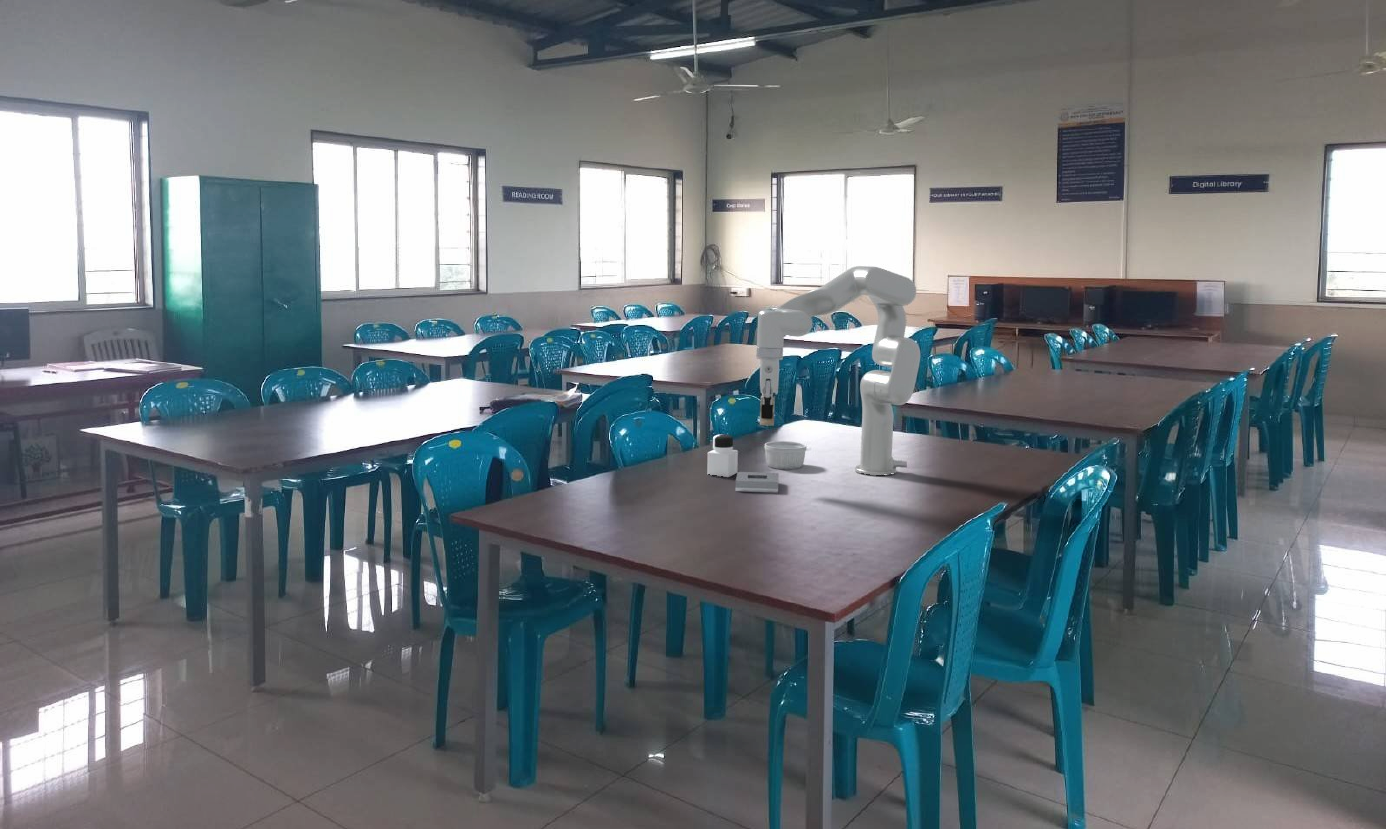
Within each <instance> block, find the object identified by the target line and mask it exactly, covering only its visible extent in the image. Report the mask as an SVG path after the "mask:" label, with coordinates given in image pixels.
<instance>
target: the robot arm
mask: <svg viewBox="0 0 1386 829" xmlns="http://www.w3.org/2000/svg"><path fill="white" fill-rule="evenodd" d="M916 295H917V287H916V285H915V283H914V281H913V280H912V279H910V278H909V277H907V276H903V275H902V274H898V273H896V272H893V271H890V270H887V269H884V268H881V267H877V266H869V265H868V266H866V265H865V266H863V265H857V266H853V267H851V268H848V269H847V270H845V271H844V272H842V273H841V274H839V275H837V276H836V277H834V278H833V279H832V280H829V281H828V282H827V283H824V284H823V285H821V286H820V287H817V288H814V289H812V290H809V291H808V292H807V291H806V292H805V293H802V294H800V295H797V296H795V297H793V298H791V299H789V300H787V301H785V302H784V303H783V304H781V305H779V306H778V307H776V308H775V309H774V310H773V309H764V310H763V309H762V310H760V311H759V312H758V314H757V331H756V332H757V333H756V337H757V338H756V357H755V358H756V359H757V360H759V361H760V362H759V364H760V366H759V390H760V393H761V394H762V396H763V404H762V411H761V418H762V419H772V417H773V405H772V397H773V395H774V394H775V395H778V393H779V380H780V379H779V376H780V361H782V360H783V358H784V357H783V356H784V343H785V342H784V336H790V337H804V336H806V335H807V334H809V332H811V330H812V328H813V319H812V317H817V316H818V317H819V316H826V315H829V314H833V313H836V312H838V311H839V310H842V308H844V307H845V306H847V305H848V304H850V303H852V302H853V301H855V300H856V299H858V298H859V297H862V296H868V297H869V299H870V301H871V302H872V303H873V305H874V307H875V310H876V312H877V316H878V318H877V319H878V320H877V327H876V330H875V336H874V341H873V345H872V349H871V359H872V360H873V362H874V363H875V364H876V365H879V366H882V367H887V368H891V370H890V371H887V370H882V369H873V370H870V371H868V372H866V373H865V374H863V376H862V378H861V380H860V385H859V386H860V387H859V390H860V397H861V398H860V399H861V407H862V409H861V410H862V412H861V413H862V414H861V416H862V418H861V420H862V421H861V436H860V438H861V441H860V461H859V462H860V464H858V465H856V466H855V467H854V470H855V472H856V473H858V474H861V473H864V474H863V475H866V474H870V475H869V476H876V475H884V474H891V473H895V474H897V468H907V467H908V461H906V460H905V461H904V460H895V459H894V457H893V437H894V434H893V433H894V420H895V418H894V417H895V416H894V411H893V410H894V409H893V406H892V405H895V406H903V405H905V404H906V403H908V402H909V400H910V399H912V398H911V397H912V396H913V394H914V389H915V386H916V382H917V377H918V372H919V368H920V363H921V362H920V361H921V350H920V346H919V344H918V343H917V342H916V341H915V340H914V339H912V338H909V337H905V334H906V327H907V315H906V311H905V308H904V307H905V306H908V305H910V304H911V303H912V302H914V300H915V298H916ZM770 400H771V401H770ZM764 403H765V405H764Z"/></svg>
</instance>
